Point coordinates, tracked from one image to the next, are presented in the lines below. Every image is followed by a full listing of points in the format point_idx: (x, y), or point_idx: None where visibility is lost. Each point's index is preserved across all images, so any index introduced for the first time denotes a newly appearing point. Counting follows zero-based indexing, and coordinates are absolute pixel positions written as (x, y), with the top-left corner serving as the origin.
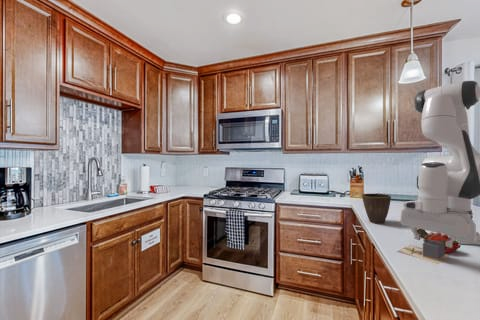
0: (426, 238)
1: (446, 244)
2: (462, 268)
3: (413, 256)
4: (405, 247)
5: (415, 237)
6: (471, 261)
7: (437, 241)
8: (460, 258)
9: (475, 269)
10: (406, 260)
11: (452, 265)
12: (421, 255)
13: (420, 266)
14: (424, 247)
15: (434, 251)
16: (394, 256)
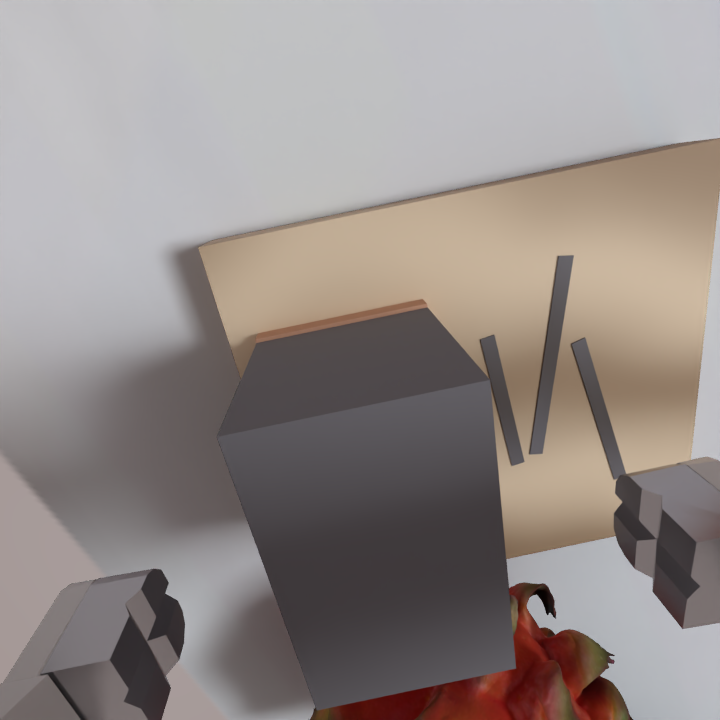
0: (591, 701)
1: (114, 605)
2: (123, 462)
3: (496, 183)
4: (690, 407)
5: (716, 480)
6: (208, 661)
7: (403, 681)
8: (283, 649)
9: (74, 539)
10: (528, 90)
11: (206, 449)
12: (456, 328)
13: (328, 58)
14: (439, 353)
15: (287, 377)
16: (687, 71)
